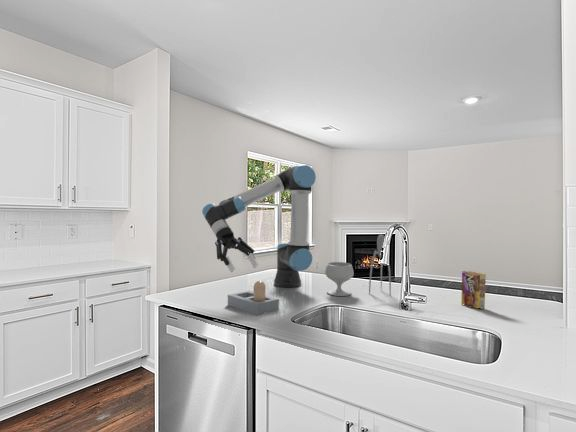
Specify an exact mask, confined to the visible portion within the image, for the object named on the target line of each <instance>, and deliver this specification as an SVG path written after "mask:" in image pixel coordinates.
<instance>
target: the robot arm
mask: <svg viewBox="0 0 576 432" xmlns="http://www.w3.org/2000/svg"><path fill="white" fill-rule="evenodd" d="M316 178H317V176H316V173H315V170H314V169H313V168H312V167H311V166H310V165H308V164H297V165H295V166H292V167H289V168H287V169H285V170H284V171H282V172H280V173H278V174H276V175H274V177H273V178H272V179H269V180H267V181H265V182H263V183H261V184H260V183H259V184H258V185H256V186H254V187H252V188H250V189H247V190H245V191H242V192H240V193H238V194H236V195H234V196H232V197H229V198H227V199H223V200H222V201H220V202H219V203H218V205H217V204H215V203H213V202H212V203H207V204H206V205H205V206H204V207H203V208H202V212H201V213H202V215H203V217H204V218H205V220H206V222H207V225H209V227H210V229H211V231H212V233H213V234H214V236H215V237H216V240H215V242H214V244H215V247H216V259H217V260H220V262H224V265H225V266H227V268H228V270H229V272H230V273H233V272H234V270H236V267H235V265H234V264H233V261H232V260H231V258H230V257H229V256H228V255H227V254H228V250H230V249H234V250H238V251H239V252H240V253H243V254H244V255H246V256H247V259H248V261H249V262H250V265H252V267H253V268H254V269H256V268H257V266H258V265H259V263H258V262H257V259H256V257H255V256H254V252H255V249H253V248H252V246H250V245H249V244H248V243H247V242H245V241H244V240H243V239H242V238H241V236H238V238H236V237H235V234H234V232H233V230H232V228H231V227H230V225H229V224H228V222H227V219H230V218H232V217H234V216H236V215H239V214H241V213H242V212H244V211H245V210H246V207H247V206H250V205H252V204H254V203H255V204H256V203H257V202H259V201H261V200H263V199H266V198H268V197H270V196H272V195H274V194H276V193H278V192H281V193H283V192H285V191H289V193H290V194H291V208H290V209H291V210H290V211H291V212H290V213H291V214H290V234H289V235H290V238H289V241H288V242H287V243H286V242H285V243H278V244H277V249H276V251H277V252H276V256H277V257H276V261H277V263H276V265H277V266H276V267H277V269H276V274H275V277H274V279H273V285H274V286H276V287H279V288H296V287H301V285H302V279H301V276H300V273H299V272H302V271H303V272H304V271H306V270H308V268H310V266H311V265H312V263H313V254H312V252H311V251H310V243H309V242H308V241H307V239H308V217H309V195H310V194H311V193H312V190H313V188H312V187H313V185H314V184H315V182H316Z"/></svg>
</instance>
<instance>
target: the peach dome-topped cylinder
mask: <svg viewBox="0 0 576 432" xmlns="http://www.w3.org/2000/svg"><path fill="white" fill-rule="evenodd" d="M252 291H253V301H256V302H261V301H265V295H266V283H264V281H262V280H257V281H255V283H254V284H253V290H252Z"/></svg>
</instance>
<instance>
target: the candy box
mask: <svg viewBox="0 0 576 432" xmlns="http://www.w3.org/2000/svg"><path fill="white" fill-rule="evenodd" d="M486 275H487V274H486V273H482V272H476V271H471V270H464V271H462V272H461V303H460V304H464V305H468V306H471V307H470V308H472V307H475V308H485V307H486V305H485V304H486V302H485V301H486V282H487V281H486V280H487V278H486V277H487V276H486ZM464 305H463V306H464ZM468 306H467V307H468ZM475 308H474V309H475ZM485 309H486V308H485Z"/></svg>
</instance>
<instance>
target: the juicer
mask: <svg viewBox="0 0 576 432" xmlns="http://www.w3.org/2000/svg"><path fill="white" fill-rule="evenodd" d="M384 238H385V239H386V237H385V235H384V234H382V233H381V234H378V236H377V239H376V248H377V250H376V249H375V250H374V252H373V255H372V259H371V265H370V271H369V282H368V284H369V285H368V289H369V290H368V294H369V295H370V294H371V287H372V285H371V284H372V275H373V266H374V261H375V259H376V256H377V255H378V258H379V257H380V250H381V248H382V246H383V242H384ZM390 265H391V264H390V263H389V265H388V264H387V268H388V269H387V270H388V283H389V296H391V294H392V293H391V292H392V291H391V288H392V286H391V285H392V284H391V283H392V281H391V266H390ZM382 282H383V264H382V265H380V290H382V284H383V283H382Z"/></svg>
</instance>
